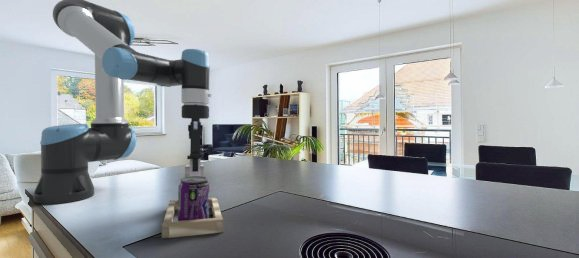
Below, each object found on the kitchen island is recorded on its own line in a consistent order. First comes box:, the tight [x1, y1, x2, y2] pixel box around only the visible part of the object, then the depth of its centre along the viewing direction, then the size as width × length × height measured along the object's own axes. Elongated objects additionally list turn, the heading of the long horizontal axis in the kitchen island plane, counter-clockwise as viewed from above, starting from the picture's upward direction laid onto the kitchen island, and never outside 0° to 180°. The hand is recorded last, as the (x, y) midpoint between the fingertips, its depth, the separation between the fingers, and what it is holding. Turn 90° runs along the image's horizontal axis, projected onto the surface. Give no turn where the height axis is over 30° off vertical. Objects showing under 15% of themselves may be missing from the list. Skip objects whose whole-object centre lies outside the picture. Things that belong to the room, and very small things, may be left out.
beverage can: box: [177, 176, 210, 221], centre depth 67 cm, size 7×7×12 cm
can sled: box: [161, 164, 224, 239], centre depth 72 cm, size 21×13×12 cm, turn 19°
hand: (195, 178), depth 80 cm, fingers open, 13 cm apart
